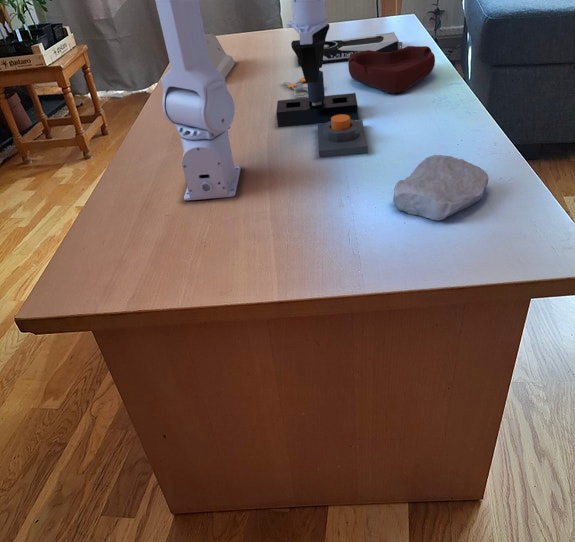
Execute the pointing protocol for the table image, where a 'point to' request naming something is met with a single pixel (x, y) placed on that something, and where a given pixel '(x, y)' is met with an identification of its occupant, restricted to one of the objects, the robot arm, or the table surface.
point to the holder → (315, 110)
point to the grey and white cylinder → (316, 90)
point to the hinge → (218, 55)
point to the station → (342, 140)
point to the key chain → (297, 87)
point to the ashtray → (392, 67)
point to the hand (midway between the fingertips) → (314, 74)
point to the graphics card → (359, 46)
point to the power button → (340, 122)
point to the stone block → (440, 187)
